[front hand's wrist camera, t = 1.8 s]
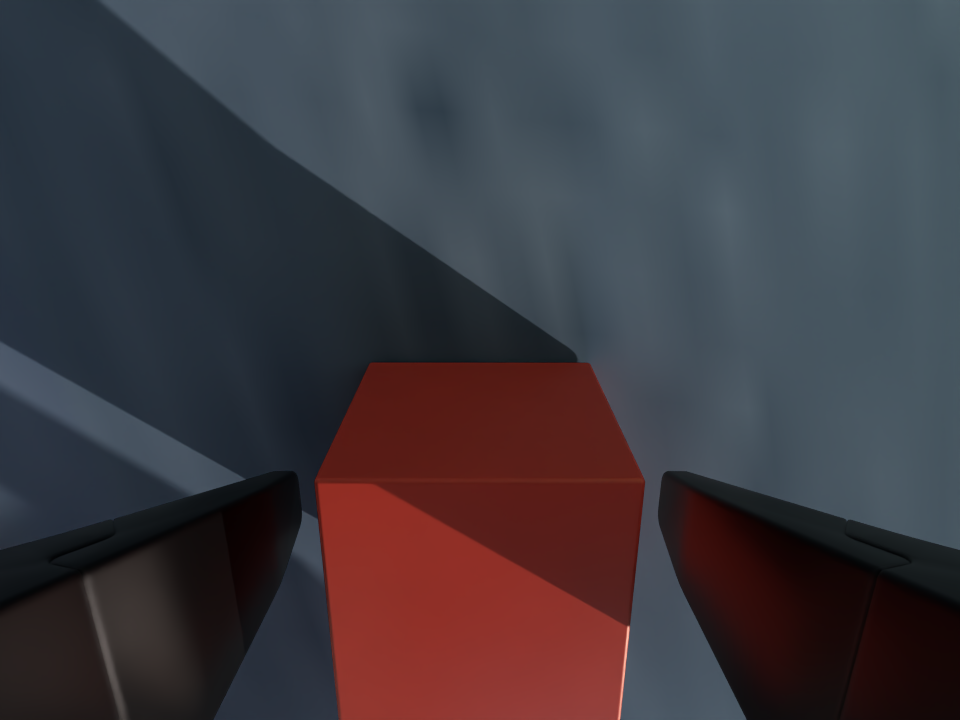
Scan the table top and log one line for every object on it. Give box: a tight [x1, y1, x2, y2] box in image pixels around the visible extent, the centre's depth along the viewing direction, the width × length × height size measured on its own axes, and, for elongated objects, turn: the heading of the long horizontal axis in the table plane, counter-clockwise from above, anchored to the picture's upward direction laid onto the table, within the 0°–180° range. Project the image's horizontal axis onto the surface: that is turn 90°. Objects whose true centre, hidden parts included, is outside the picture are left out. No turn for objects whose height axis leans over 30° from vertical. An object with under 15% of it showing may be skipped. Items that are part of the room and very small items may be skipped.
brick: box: [314, 363, 645, 720], centre depth 10 cm, size 4×4×4 cm
